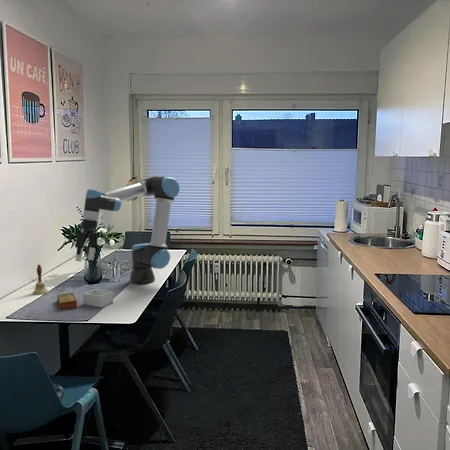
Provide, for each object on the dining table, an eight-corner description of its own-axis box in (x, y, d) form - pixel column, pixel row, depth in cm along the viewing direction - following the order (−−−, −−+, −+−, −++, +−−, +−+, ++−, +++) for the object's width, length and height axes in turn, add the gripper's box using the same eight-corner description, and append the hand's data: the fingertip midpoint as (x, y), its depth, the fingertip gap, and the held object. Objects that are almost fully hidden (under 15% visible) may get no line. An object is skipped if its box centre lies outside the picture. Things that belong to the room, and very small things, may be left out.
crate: (95, 299, 243) (95, 288, 242) (113, 302, 237) (112, 291, 237) (83, 304, 235) (82, 293, 234) (101, 307, 229) (101, 296, 229)
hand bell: (30, 292, 256) (28, 264, 254) (45, 289, 262) (44, 262, 259) (35, 295, 250) (33, 267, 248) (50, 292, 255) (49, 265, 253)
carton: (60, 310, 226) (59, 302, 226) (57, 301, 241) (56, 293, 240) (77, 308, 230) (77, 300, 229) (73, 299, 244) (73, 291, 244)
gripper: (94, 219, 247) (88, 258, 247) (71, 217, 222) (65, 260, 222) (107, 221, 245) (101, 260, 245) (85, 219, 221) (79, 262, 221)
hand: (84, 260), depth 234 cm, fingers open, 13 cm apart
